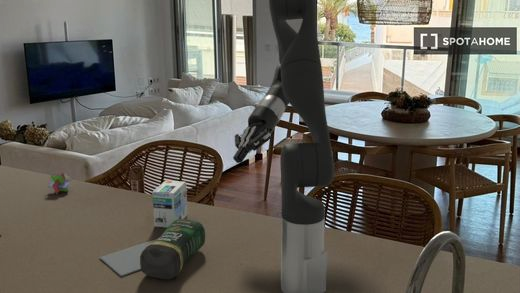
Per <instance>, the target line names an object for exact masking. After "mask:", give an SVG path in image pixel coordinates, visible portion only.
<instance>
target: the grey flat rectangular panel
mask: <svg viewBox="0 0 520 293" xmlns="http://www.w3.org/2000/svg"><path fill="white" fill-rule="evenodd" d="M159 238H160V237H159ZM159 238H155V239H153V240H149V241H146V242H142V243H139V244H136V245H133V246H131V247H126V248H124V249H123V248H122V249H121V250H118V251H114V252H111V253H108V254H106V255H102V256H100V257H99V260H101V261H102V262H104V264H106V265H107V266H108V267H109V268H110V269H111V270H112V271H114V272H115V273H116V274H118V276H120V277H121V278H122V277H125V276H128V275H131V274H134V273H137V272H139V271H140V272H141V266H140V255H141V253H142V251H143V250H144V249H145V248H146V247H147V246H148V245H149V244H151V243H153V242H155V241H156V240H158V239H159Z"/></svg>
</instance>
